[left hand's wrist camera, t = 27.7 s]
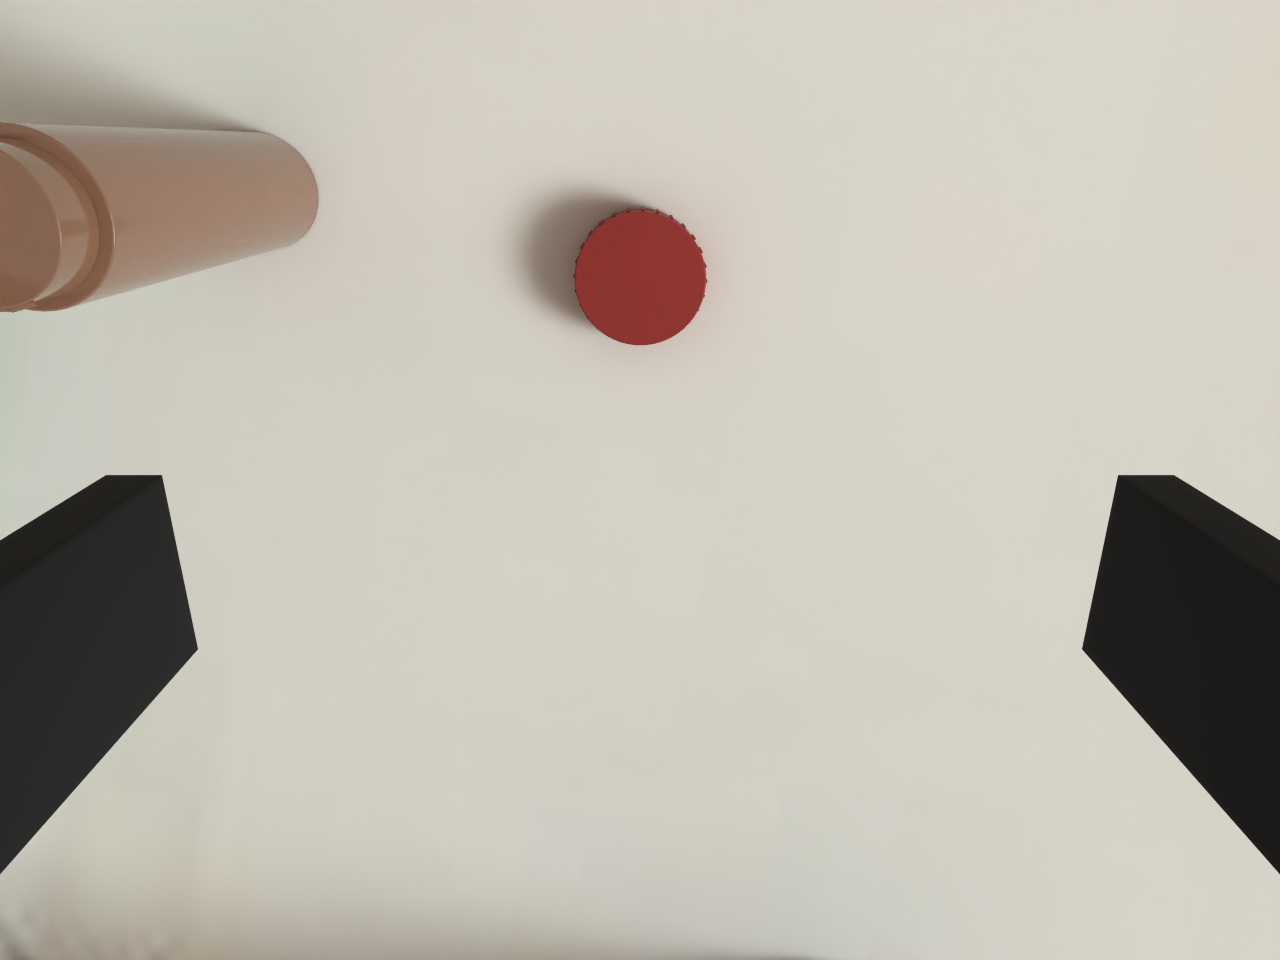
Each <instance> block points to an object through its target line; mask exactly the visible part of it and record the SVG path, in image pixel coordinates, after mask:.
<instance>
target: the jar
mask: <svg viewBox="0 0 1280 960" xmlns="http://www.w3.org/2000/svg"><path fill="white" fill-rule="evenodd" d="M317 209H318V190H317V184H316V181H315V178H314V175H313V173H312V171H311V169H310V167H309V165H308V164H307V162H306V161H305V159H304V158H303V157H302V155H301V154H300V153H299V152H298V151H297V150H296V149H295V148H294V147H292V146H291V145H290V144H288V143H287V142H285V141H284V140H282V139H280V138H278V137H276V136H273V135H270V134H267V133H262V132H247V131H221V130H195V129H168V128H142V127H116V126H89V125H63V124H37V123H10V122H0V312H16V311H20V310H23V309H27V310H32V311H58V310H62V309H67V308H71V307H74V306H78V305H81V304H85V303H88V302H92V301H96V300H99V299H103V298H106V297H110V296H113V295H117V294H120V293H124V292H127V291H131V290H134V289H138V288H141V287H145V286H149V285H152V284H156V283H159V282H163V281H166V280H170V279H173V278H177V277H180V276H184V275H187V274H191V273H194V272H198V271H202V270H205V269H209V268H212V267H216V266H219V265H223V264H226V263H230V262H233V261H237V260H240V259H244V258H247V257H251V256H255V255H258V254H262V253H265V252H269V251H272V250H276V249H279V248H283V247H286V246H289V245H291V244H293V243H295V242H297V241H298V240H299V239H301V238H302V237H303V236H304V235H305V234H306V233H307V232H308V230H309V229H310V227H311V226H312V224H313V222H314V219H315V217H316V213H317Z"/></svg>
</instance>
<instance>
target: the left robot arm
mask: <svg viewBox="0 0 1280 960" xmlns="http://www.w3.org/2000/svg"><path fill="white" fill-rule="evenodd" d="M197 650H198V647H197V642H196V638H195V633H194V628H193V623H192V618H191V613H190V609H189V604H188V599H187V594H186V589H185V585H184V580H183V575H182V570H181V565H180V560H179V556H178V551H177V546H176V541H175V536H174V532H173V527H172V522H171V517H170V512H169V508H168V503H167V498H166V493H165V488H164V483H163V479H162V475H106V476H104V477H102V478H101V479H99V480H97V481H96V482H94V483H93V484H91V485H89V486H88V487H86V488H84V489H83V490H81V491H80V492H78V493H76V494H75V495H73V496H72V497H70V498H68V499H67V500H65V501H63V502H62V503H60V504H59V505H57V506H55V507H54V508H52V509H50V510H49V511H47V512H46V513H44V514H42V515H41V516H39V517H37V518H36V519H34V520H33V521H31V522H29V523H28V524H26V525H24V526H23V527H21V528H20V529H18V530H16V531H15V532H13V533H11V534H10V535H8V536H7V537H5V538H3V539H2V540H0V874H1V873H2V871H3V870H4V869H5V868H6V867H7V866H8V865H9V863H10V862H11V861H12V860H13V859H14V858H15V857H16V856H17V854H18V853H19V852H20V851H21V850H22V849H23V848H24V846H25V845H26V844H27V843H28V842H29V841H30V840H31V838H32V837H33V836H34V835H35V834H36V833H37V832H38V830H39V829H40V828H41V827H42V826H43V825H44V824H45V823H46V821H47V820H48V819H49V818H50V817H51V816H52V815H53V813H54V812H55V811H56V810H57V809H58V808H59V807H60V805H61V804H62V803H63V802H64V801H65V800H66V799H67V797H68V796H69V795H70V794H71V793H72V792H73V791H74V790H75V788H76V787H77V786H78V785H79V784H80V783H81V782H82V780H83V779H84V778H85V777H86V776H87V775H88V774H89V772H90V771H91V770H92V769H93V768H94V767H95V766H96V765H97V763H98V762H99V761H100V760H101V759H102V758H103V757H104V755H105V754H106V753H107V752H108V751H109V750H110V749H111V747H112V746H113V745H114V744H115V743H116V742H117V741H118V739H119V738H120V737H121V736H122V735H123V734H124V733H125V732H126V730H127V729H128V728H129V727H130V726H131V725H132V724H133V722H134V721H135V720H136V719H137V718H138V717H139V716H140V714H141V713H142V712H143V711H144V710H145V709H146V708H147V707H148V705H149V704H150V703H151V702H152V701H153V700H154V699H155V697H156V696H157V695H158V694H159V693H160V692H161V691H162V689H163V688H164V687H165V686H166V685H167V684H168V683H169V681H170V680H171V679H172V678H173V677H174V676H175V675H176V674H177V672H178V671H179V670H180V669H181V668H182V667H183V666H184V664H185V663H186V662H187V661H188V660H189V659H190V658H191V656H192V655H193V654H194V653H195V652H196V651H197ZM1082 650H1083V651H1084V652H1085V653H1086V654H1087V655H1088V656H1089V658H1090V659H1091V660H1092V661H1093V662H1094V663H1095V664H1096V666H1097V667H1098V668H1099V669H1100V670H1101V671H1102V672H1103V674H1104V675H1105V676H1106V677H1107V678H1108V679H1109V680H1110V681H1111V683H1112V684H1113V685H1114V686H1115V687H1116V688H1117V689H1118V691H1119V692H1120V693H1121V694H1122V695H1123V696H1124V697H1125V699H1126V700H1127V701H1128V702H1129V703H1130V704H1131V705H1132V707H1133V708H1134V709H1135V710H1136V711H1137V712H1138V713H1139V714H1140V716H1141V717H1142V718H1143V719H1144V720H1145V721H1146V722H1147V724H1148V725H1149V726H1150V727H1151V728H1152V729H1153V730H1154V732H1155V733H1156V734H1157V735H1158V736H1159V737H1160V738H1161V739H1162V741H1163V742H1164V743H1165V744H1166V745H1167V746H1168V747H1169V749H1170V750H1171V751H1172V752H1173V753H1174V754H1175V755H1176V757H1177V758H1178V759H1179V760H1180V761H1181V762H1182V763H1183V765H1184V766H1185V767H1186V768H1187V769H1188V770H1189V771H1190V772H1191V774H1192V775H1193V776H1194V777H1195V778H1196V779H1197V780H1198V782H1199V783H1200V784H1201V785H1202V786H1203V787H1204V788H1205V790H1206V791H1207V792H1208V793H1209V794H1210V795H1211V796H1212V798H1213V799H1214V800H1215V801H1216V802H1217V803H1218V804H1219V805H1220V807H1221V808H1222V809H1223V810H1224V811H1225V812H1226V813H1227V815H1228V816H1229V817H1230V818H1231V819H1232V820H1233V821H1234V823H1235V824H1236V825H1237V826H1238V827H1239V828H1240V829H1241V830H1242V832H1243V833H1244V834H1245V835H1246V836H1247V837H1248V838H1249V840H1250V841H1251V842H1252V843H1253V844H1254V845H1255V846H1256V848H1257V849H1258V850H1259V851H1260V852H1261V853H1262V854H1263V856H1264V857H1265V858H1266V859H1267V860H1268V861H1269V862H1270V863H1271V865H1272V866H1273V867H1274V868H1275V869H1276V870H1277V871H1278V873H1279V874H1280V540H1278V539H1277V538H1275V537H1273V536H1272V535H1270V534H1269V533H1267V532H1265V531H1264V530H1262V529H1260V528H1259V527H1257V526H1256V525H1254V524H1252V523H1251V522H1249V521H1247V520H1246V519H1244V518H1243V517H1241V516H1239V515H1238V514H1236V513H1234V512H1233V511H1231V510H1230V509H1228V508H1226V507H1225V506H1223V505H1221V504H1220V503H1218V502H1217V501H1215V500H1213V499H1212V498H1210V497H1208V496H1207V495H1205V494H1204V493H1202V492H1200V491H1199V490H1197V489H1196V488H1194V487H1192V486H1191V485H1189V484H1187V483H1186V482H1184V481H1183V480H1181V479H1179V478H1178V477H1176V476H1174V475H1118V479H1117V483H1116V488H1115V493H1114V498H1113V503H1112V508H1111V512H1110V517H1109V522H1108V527H1107V532H1106V536H1105V541H1104V546H1103V551H1102V556H1101V560H1100V565H1099V570H1098V575H1097V580H1096V585H1095V589H1094V594H1093V599H1092V604H1091V609H1090V613H1089V618H1088V623H1087V628H1086V633H1085V638H1084V642H1083V647H1082Z"/></svg>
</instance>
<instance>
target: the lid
mask: <svg viewBox="0 0 1280 960" xmlns="http://www.w3.org/2000/svg"><path fill="white" fill-rule="evenodd" d="M685 228H686V227H685V225H684V224H683V223H682V224H680V223H679V222H678V221H676V220H675V219H673V216H672V215H670V216H668V215H666V214H663V213H661V212H659V210H658V209H656V211H654V210H648V209H644V207H642V209H633V210H630V209H629V208H627V211H623V212H620V213H617V214H616V213H613V215H612V216H611V217H609V218H608V219H606V220H604V221H603V220H601V221H600V223H599V225H598V226H597V227H596V228H595V230H594V231H592V230H591V231H590V233H589V234H588V235H589V237H588V239H587V240H586V242H585V243H583V244H582V245H581V247H580V248H581V249H582V250H581V252H580V254H579V256H578V257H577V259H576V261H575V262H576V263H577V264H576V270H575V274H574V278H575V287H576V289H575V293H577V297H578V300H579V303H580V304H579V305H580V307H581V308H582V310H583V311H584V313H585V315H586V316H587V318H588V319H589V320H590V322H591V323H592V324H593V325H594V326H595V327H596V328H597V329H598V330H599V331H601V332H602V333H603V334H605V335H606V336H608V337H610V338H612V339H614V340H617V341H619V342H622V343H626V344H632V345H649V344H655V343H659V342H662V341H664V340H667V339H669V338H671V337H673V336H674V335H676V334H677V333H679V332H680V331H681V330H683V329H684V328H685V327H686V326H687V325H688V324H689V323H690V322H691V320H692V319H693V318H694V316H695V315H696V313H697V311H699V307H700V305H701V303H702V300H703V297H704V296H705V295H704V293H705V286H706V283H707V279H706V271H705V268H706V264H705V262H704V261H703V257H702V255H701V253H703V252H702V250H701V248H700V247H699V248H698V246H697V244H696V242H695V241H694V240H695V237H694V235H693V234H692V235H690V233H689V232H688V231H687V230H686V229H685Z"/></svg>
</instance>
